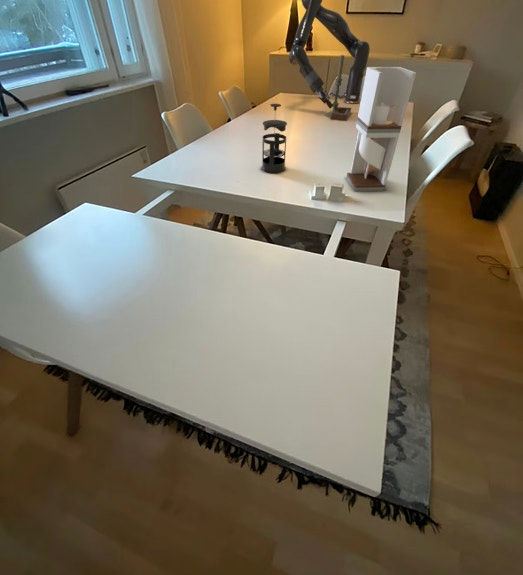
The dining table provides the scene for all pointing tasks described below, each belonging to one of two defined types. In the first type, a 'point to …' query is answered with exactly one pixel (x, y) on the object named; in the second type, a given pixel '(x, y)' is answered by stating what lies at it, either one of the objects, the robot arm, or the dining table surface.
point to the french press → (274, 146)
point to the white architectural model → (379, 125)
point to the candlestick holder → (338, 83)
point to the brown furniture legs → (342, 116)
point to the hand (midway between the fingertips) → (331, 107)
